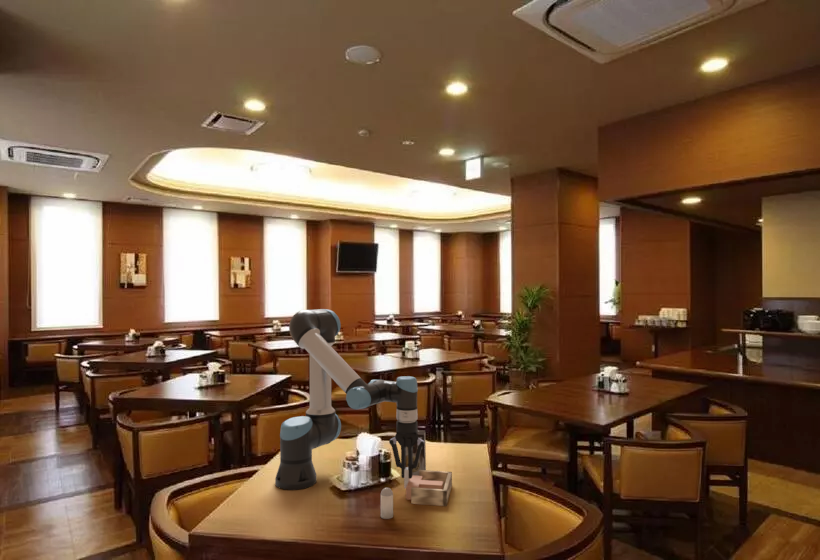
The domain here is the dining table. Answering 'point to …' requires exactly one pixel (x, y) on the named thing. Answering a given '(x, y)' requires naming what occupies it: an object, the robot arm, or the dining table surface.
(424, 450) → the coffee box
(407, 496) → the t block
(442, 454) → the dining table surface
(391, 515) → the cylinder
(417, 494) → the bay
